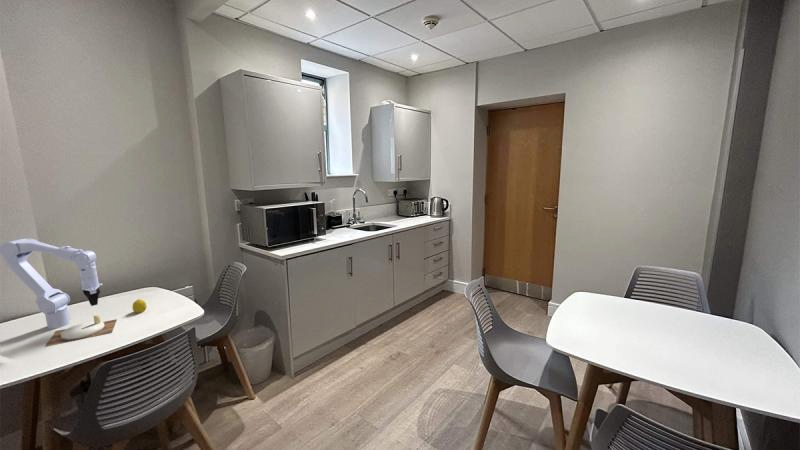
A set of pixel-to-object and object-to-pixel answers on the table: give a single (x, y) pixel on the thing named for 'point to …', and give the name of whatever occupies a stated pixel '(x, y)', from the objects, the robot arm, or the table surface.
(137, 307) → the lemon
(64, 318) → the robot arm
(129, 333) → the table surface
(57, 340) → the brown flat wooden board
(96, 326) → the dial
